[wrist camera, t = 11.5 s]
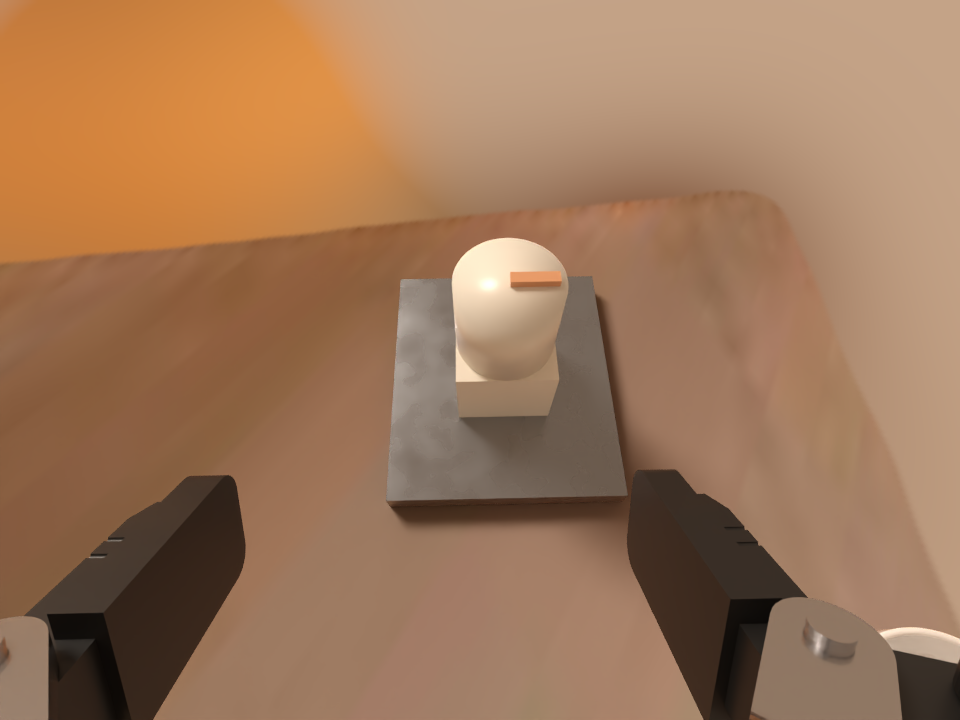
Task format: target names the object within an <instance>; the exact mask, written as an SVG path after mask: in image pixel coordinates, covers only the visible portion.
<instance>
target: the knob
mask: <svg viewBox="0 0 960 720" xmlns="http://www.w3.org/2000/svg"><path fill="white" fill-rule="evenodd" d="M568 288H569V286H568V278H567V274H566V272H565V269H564V267H563V266H562V264H561V262H560V261H559V260H558V259H557V258H556V257H555V256H554V255H553V254H552V253H551V252H550V251H548V250H547V249H545V248H544V247H542V246H540V245H538V244H536V243H533V242H530V241H527V240H523V239H516V238H500V239H494V240H490V241H486V242H484V243H481V244H479V245H477V246H475V247H473V248H472V249H471V250H469V251H468V252H467V253H466V254H465V255H463V257H462V258H461V259H460V260H459V262H458V263H457V265H456V267H455V269H454V272H453V276H452V293H453V307H454V320H455V334H456V390H457V402H458V413H459V417H505V416H548V414H549V411H550V408H551V405H552V402H553V398H554V395H555V392H556V389H557V386H558V383H559V372H558V364H557V355H556V346H555V341H556V337H557V333H558V329H559V326H560V322H561V318H562V314H563V310H564V306H565V303H566V299H567V295H568Z"/></svg>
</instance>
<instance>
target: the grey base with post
mask: <svg viewBox="0 0 960 720" xmlns="http://www.w3.org/2000/svg"><path fill="white" fill-rule="evenodd" d="M567 278H568V286H569V288H568V295H567V299H566V303H565V306H564V310H563V314H562V318H561V322H560V326H559V329H558V333H557V337H556V341H555V346H556V355H557V364H558V372H559V383H558V386H557V389H556V392H555V395H554V398H553V402H552V405H551V408H550V411H549V414H548V416H505V417H459V413H458V402H457V390H456V334H455V320H454V307H453V293H452V279H401V286H400V301H399V316H398V331H397V346H396V361H395V376H394V391H393V405H392V420H391V435H390V450H389V465H388V480H387V495H386V501H387V503H388V504H389V506H390V507H403V506H448V505H494V504H539V503H584V502H622V501H623V500H624V499H625V498H626V497H627V496H628V493H627V487H626V481H625V475H624V469H623V463H622V457H621V450H620V444H619V438H618V432H617V426H616V420H615V414H614V408H613V401H612V395H611V389H610V383H609V377H608V371H607V365H606V359H605V353H604V346H603V340H602V334H601V328H600V322H599V316H598V310H597V304H596V298H595V291H594V285H593V279H592V276H586V277H567Z"/></svg>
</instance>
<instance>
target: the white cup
mask: <svg viewBox="0 0 960 720" xmlns="http://www.w3.org/2000/svg"><path fill="white" fill-rule="evenodd" d="M876 631H877V632H879V633H880V635H881V636H882V637H883V638H884V639H885V640H886V641H887V643H888V644H889V645H890V647H891V649H893V650H897V651H901V652H906V653H910V654H915V655H919V656H924V657H928V658H933V659H938V660H942V661H947V662H951V663H956V664H958V662H959V659H960V639H959V638H957V637H954V636H952V635H949V634H946V633H943V632H939V631H935V630H931V629H925V628H915V627H904V628H894V629H884V630H876Z"/></svg>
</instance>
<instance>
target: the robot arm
mask: <svg viewBox="0 0 960 720" xmlns="http://www.w3.org/2000/svg"><path fill="white" fill-rule="evenodd" d="M627 547H628V555H629V560H630V564H631V567H632V569H633V572H634V574H635V576H636V578H637V580H638V582H639V584H640V586H641V589H642V591H643V593H644V595H645V597H646V599H647V601H648V603H649V605H650V608H651V610H652V612H653V614H654V616H655V618H656V620H657V622H658V624H659V626H660V629H661V631H662V633H663V635H664V637H665V639H666V641H667V643H668V645H669V648H670V650H671V652H672V654H673V656H674V658H675V660H676V662H677V664H678V667H679V669H680V671H681V673H682V675H683V677H684V679H685V681H686V683H687V685H688V688H689V690H690V692H691V694H692V696H693V698H694V700H695V702H696V704H697V707H698V709H699V711H700V713H701V715H702V717H703V719H704V720H960V659H959V662H958V664H956V663H951V662H947V661H942V660H938V659H933V658H928V657H924V656H919V655H915V654H910V653H906V652H901V651H897V650H893V649H891V647H890V645H889V644H888V643H887V641H886V640H885V639H884V638H883V637H882V636H881V635H880V633H879V632H877V631H876V630H875V629H874V628H873V627H872V626H871V625H869V624H868V623H866V622H865V621H864V620H862V619H861V618H859V617H857V616H856V615H854V614H852V613H851V612H849V611H847V610H845V609H843V608H840V607H838V606H836V605H833V604H830V603H827V602H824V601H821V600H816V599H812V598H808V597H807V596H806V595H805V594H804V593H803V592H802V591H801V590H800V588H799V587H798V586H797V585H796V584H795V583H794V582H793V581H792V579H791V578H790V577H789V576H788V575H787V574H786V573H785V572H784V570H783V569H782V568H781V567H780V566H779V565H778V564H777V563H776V561H775V560H774V559H773V558H772V557H771V556H770V555H769V554H768V553H767V551H766V550H765V549H764V548H763V547H762V546H759V545H758V541H757V540H756V539H755V538H754V537H753V536H752V535H751V533H750V532H749V531H748V530H745V529H744V526H743V524H742V523H741V522H740V521H739V520H738V519H737V518H736V517H735V515H734V514H733V513H732V512H731V511H730V510H729V509H728V508H727V507H725V506H723V505H722V504H720V503H719V502H717V501H715V500H714V499H712V498H711V497H709V496H707V495H706V494H696V493H695V491H694V490H693V489H692V488H691V487H690V485H689V484H688V483H687V482H686V481H685V479H684V478H683V477H682V476H681V475H680V473H679V472H678V471H676V470H637V471H636V473H635V475H634V478H633V485H632V494H631V504H630V514H629V524H628V534H627ZM244 559H245V538H244V531H243V525H242V518H241V512H240V505H239V499H238V492H237V486H236V483H235V480H234V479H233V478H232V477H231V476H229V475H220V476H189V477H187V478H185V479H184V480H183V481H182V482H181V483H180V484H179V485H178V486H177V487H176V488H175V489H174V490H173V491H172V492H171V493H170V494H169V495H168V496H167V497H166V498H165V499H164V500H163V501H162V502H156V503H155V504H153V505H151V506H149V507H148V508H146V509H144V510H143V511H141V512H139V513H137V514H136V515H134V516H132V517H130V518H129V519H127V520H126V521H125V522H124V523H123V524H122V525H121V526H120V527H119V528H118V529H117V530H116V531H115V532H114V533H112V534H111V535H110V536H109V537H108V541H104V542H103V543H102V544H101V545H100V546H99V547H97V548H96V549H95V550H94V551H93V552H92V553H91V556H90V558H86V559H85V560H83V561H82V562H81V563H80V564H79V565H78V566H77V567H76V568H75V569H74V570H73V571H72V572H71V573H70V574H68V575H67V576H66V577H65V578H64V579H63V580H62V581H61V582H60V583H59V584H58V585H57V586H56V587H55V588H53V589H52V590H51V591H50V592H49V593H48V594H47V595H46V596H45V597H44V598H43V599H42V600H41V601H40V602H38V603H37V604H36V605H35V606H34V607H33V608H32V609H31V610H30V611H29V612H28V613H27V614H26V615H24V616H20V617H11V618H5V619H1V620H0V720H153V718H154V717H155V715H156V713H157V712H158V710H159V708H160V707H161V705H162V703H163V702H164V700H165V699H166V697H167V695H168V694H169V692H170V690H171V689H172V687H173V685H174V684H175V682H176V680H177V679H178V677H179V675H180V674H181V672H182V670H183V669H184V667H185V665H186V664H187V662H188V660H189V659H190V657H191V655H192V654H193V652H194V650H195V649H196V647H197V645H198V644H199V642H200V641H201V639H202V637H203V636H204V634H205V632H206V631H207V629H208V627H209V626H210V624H211V622H212V621H213V619H214V617H215V616H216V614H217V612H218V611H219V609H220V607H221V606H222V604H223V602H224V601H225V599H226V597H227V596H228V594H229V592H230V591H231V589H232V587H233V586H234V584H235V583H236V581H237V579H238V577H239V576H240V573H241V571H242V568H243V564H244Z"/></svg>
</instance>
